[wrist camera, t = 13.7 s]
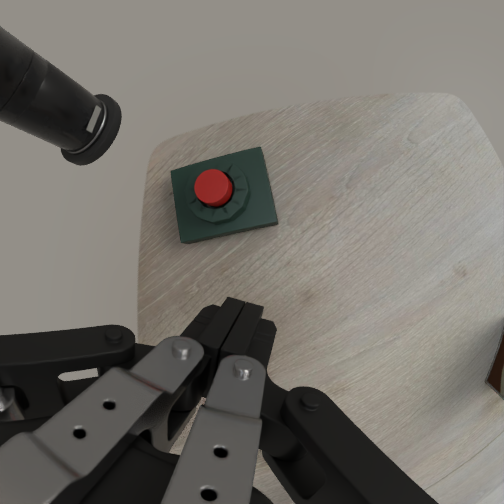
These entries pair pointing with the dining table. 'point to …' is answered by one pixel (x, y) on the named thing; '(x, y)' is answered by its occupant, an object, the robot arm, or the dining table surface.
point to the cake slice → (497, 370)
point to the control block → (235, 209)
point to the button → (213, 187)
